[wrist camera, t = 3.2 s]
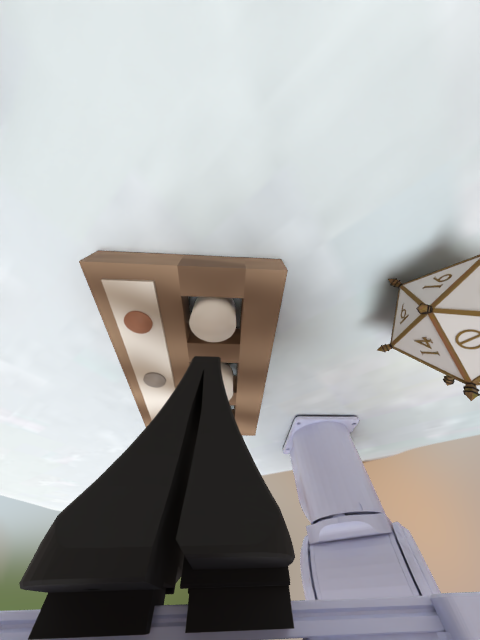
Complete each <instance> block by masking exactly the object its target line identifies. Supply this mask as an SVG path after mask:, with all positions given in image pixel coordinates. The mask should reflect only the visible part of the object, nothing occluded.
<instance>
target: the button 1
mask: <svg viewBox="0 0 480 640" xmlns="http://www.w3.org/2000/svg"><path fill="white" fill-rule="evenodd" d="M189 325H190V328H191V330H192V332H193V333H194V334H195V335H196V336H197V337H198V338H200V339H202V340H204V341H207V342H221V341H224V340H226V339H228V338H229V337H231V336H232V335H233V333H234V332H235V329H236V306H235V303H234V301H233V299H232V298H221V297H198V298H197V299H196V301H195V303H194V307H193V310H192V313H191V316H190V320H189Z"/></svg>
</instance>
